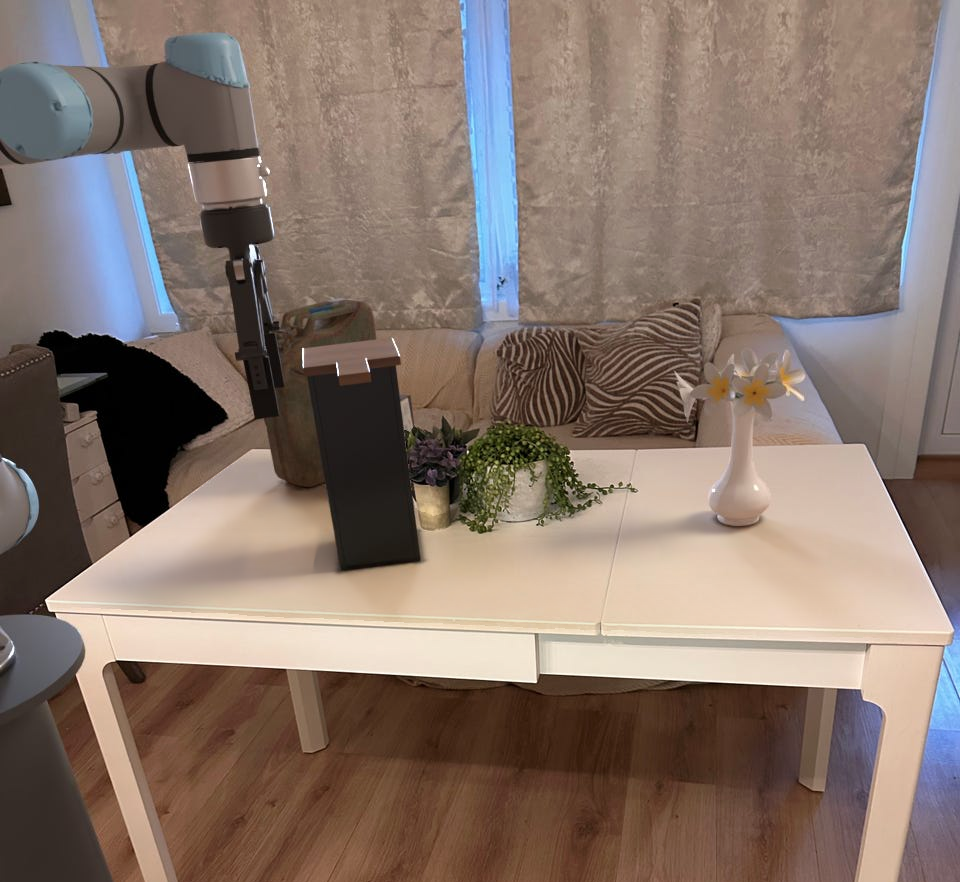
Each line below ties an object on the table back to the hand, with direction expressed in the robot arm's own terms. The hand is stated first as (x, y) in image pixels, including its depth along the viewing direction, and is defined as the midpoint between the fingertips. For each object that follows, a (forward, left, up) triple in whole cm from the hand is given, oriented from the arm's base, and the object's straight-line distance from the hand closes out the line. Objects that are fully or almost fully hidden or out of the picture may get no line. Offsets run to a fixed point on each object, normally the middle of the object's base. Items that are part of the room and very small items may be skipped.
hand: (270, 401), depth 112 cm
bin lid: (+20, +7, -2) cm, 21 cm away
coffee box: (+44, +27, -30) cm, 60 cm away
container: (+46, +44, -30) cm, 71 cm away
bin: (+22, +9, -30) cm, 39 cm away
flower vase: (+57, -33, -30) cm, 72 cm away
